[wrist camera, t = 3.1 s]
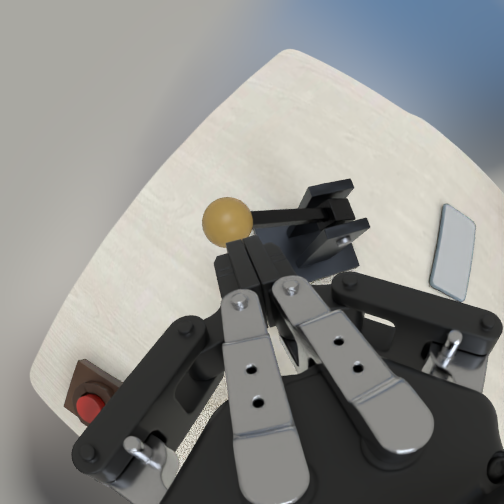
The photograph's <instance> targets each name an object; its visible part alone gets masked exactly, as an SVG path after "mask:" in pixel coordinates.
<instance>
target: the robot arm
mask: <svg viewBox="0 0 504 504" xmlns="http://www.w3.org/2000/svg"><path fill="white" fill-rule="evenodd" d="M226 248H227V252H228V254H224V255H220V256H217V257H216V260H215V262H214V267H215V271H216V276H217V280H218V285H219V289H220V293H221V298H222V301H221V306H220V308H219V309H218V311H217V312H216V313H214V314H213V315H212V316H210V317H208V318H206V319H204V320H203V319H202V318H200V317H198V316H193V315H190V316H184V317H181V318H179V319H177V320H176V321H174V322H173V323H172V324H171V325H170V326H169V328H168V329H167V330H166V331H165V332H164V334H163V335H162V336H161V337H160V338H159V340H158V341H157V342H156V343H155V345H154V346H153V347H152V348H151V349H150V351H149V352H148V353H147V354H146V355H145V357H144V358H143V359H142V360H141V362H140V363H139V364H138V365H137V366H136V368H135V369H134V370H133V371H132V373H131V374H130V375H129V376H128V377H127V379H126V380H125V381H124V382H123V384H122V385H121V386H120V387H119V389H118V390H117V391H116V392H115V393H114V395H113V396H112V397H111V398H110V400H109V401H108V402H107V403H106V405H105V406H104V407H103V408H102V410H101V411H100V412H99V413H98V415H97V416H96V417H95V418H94V420H93V421H92V422H91V423H90V425H89V426H88V427H87V428H86V430H85V431H84V432H83V433H82V435H81V436H80V437H79V438H78V440H77V441H76V442H75V444H74V446H73V449H72V461H73V463H74V465H75V467H76V468H77V469H78V470H79V471H80V472H82V473H84V474H86V475H88V476H90V477H92V478H93V479H95V480H96V481H97V482H100V483H102V484H104V485H106V486H108V487H110V488H112V489H113V490H115V491H116V492H117V493H119V494H120V495H121V496H122V497H124V498H125V499H126V500H128V501H129V502H130V503H132V504H504V449H503V446H502V443H501V439H500V435H499V429H498V420H497V414H496V411H495V409H494V406H493V405H492V403H491V401H490V400H489V399H488V398H487V397H486V396H485V395H483V394H482V392H483V387H484V381H485V375H486V369H487V362H488V356H489V354H490V352H491V351H492V349H493V347H494V346H495V344H496V342H497V341H498V339H499V337H500V335H501V333H502V330H503V326H502V323H501V321H500V319H499V318H498V317H497V316H496V315H495V314H494V313H492V312H490V311H487V310H484V309H481V308H477V307H474V306H471V305H467V304H464V303H460V302H457V301H454V300H450V299H447V298H443V297H440V296H437V295H433V294H430V293H426V292H423V291H419V290H416V289H413V288H409V287H406V286H402V285H399V284H395V283H392V282H388V281H385V280H381V279H378V278H374V277H371V276H367V275H364V274H360V273H357V272H342V273H339V274H337V275H336V276H335V277H334V278H333V279H332V284H330V285H311V284H310V283H309V282H308V281H307V280H306V279H305V278H303V277H300V276H298V275H297V274H296V272H295V271H294V269H293V268H292V266H291V264H290V263H289V261H288V260H287V259H286V256H285V255H284V254H283V252H282V250H281V249H280V247H279V246H277V245H276V244H274V243H272V242H270V243H266V244H262V242H261V240H260V238H259V236H258V235H254V236H250V237H246V238H242V240H241V239H239V240H235V241H231V242H227V243H226ZM365 313H367V314H370V315H373V316H376V317H379V318H382V319H385V320H388V321H390V322H392V323H393V324H394V325H395V327H391V326H388V325H385V324H382V323H379V322H376V321H373V320H370V319H367V318H364V314H365ZM267 321H268V323H267ZM268 324H269V326H270V327H273V326H276V327H277V329H278V332H279V339H280V342H281V344H282V345H283V347H284V349H285V351H286V353H287V355H288V357H289V358H290V360H291V362H292V364H293V366H294V368H295V369H296V371H297V373H298V374H296V375H287V376H281V374H280V370H279V367H278V363H277V360H276V356H275V352H274V349H273V345H272V342H271V338H270V335H269V333H268V331H267V328H268ZM224 371H225V374H226V382H227V390H228V398H229V399H228V400H227V401H225V402H224V403H223V404H222V405H221V406H220V407H219V408H218V409H217V410H216V411H215V412H214V413H213V415H212V416H211V418H210V419H209V421H208V423H207V425H206V426H205V428H204V430H203V432H202V433H201V435H200V437H199V438H198V440H197V442H196V444H195V445H194V447H193V449H192V450H191V452H190V454H189V455H188V457H187V459H186V461H185V462H184V464H183V466H182V467H181V469H180V470H179V472H178V474H177V475H176V473H177V471H178V469H179V459H178V456H177V454H176V453H175V451H176V450H177V448H178V447H179V445H180V444H181V442H182V441H183V439H184V438H185V436H186V435H187V433H188V432H189V430H190V428H191V427H192V425H193V424H194V422H195V421H196V419H197V418H198V416H199V415H200V413H201V411H202V410H203V408H204V407H205V405H206V404H207V402H208V400H209V399H210V397H211V396H212V394H213V393H214V391H215V389H216V388H217V386H218V385H219V383H220V381H221V380H222V378H223V375H224ZM175 476H176V477H175Z"/></svg>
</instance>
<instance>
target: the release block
mask: <svg viewBox="0 0 504 504" xmlns="http://www.w3.org/2000/svg"><path fill="white" fill-rule="evenodd" d="M122 384H123V383H122V382H121V381H119V380H117V379H116V378H114V377H112V376H111V375H109V374H108V373H106V372H104V371H103V370H101V369H100V368H98V367H97V366H95V365H94V364H92V363H91V362H89V361H88V360H86V359H83V360H78V362H77V365H76V368H75V371H74V374H73V377H72V380H71V383H70V387H69V390H68V393H67V397H66V400H65V404H64V407H65V408H66V409H68V410H69V411H70V412H72V413H73V414H74V415H76V416H77V417H78V418H79V419H80V421H81V422H82V423H83V424H85V425H86V426H87V427H88V426H89V425H90V423H88V422H86V421H85V420H83V419H82V418H81V416H80V415H79V413H78V411H77V401H78V399H79V398H80V397H82V396H85V395H87V394H95V395H97V396H98V397H100V398H101V399H102V400H103V402H104V403H105V405H106V403H107V402H108V401H109V400H110V398H111V397H112V396H113V395H114V393H115V392H116V391H117V390H118V389H119V387H120V386H121V385H122Z"/></svg>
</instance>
